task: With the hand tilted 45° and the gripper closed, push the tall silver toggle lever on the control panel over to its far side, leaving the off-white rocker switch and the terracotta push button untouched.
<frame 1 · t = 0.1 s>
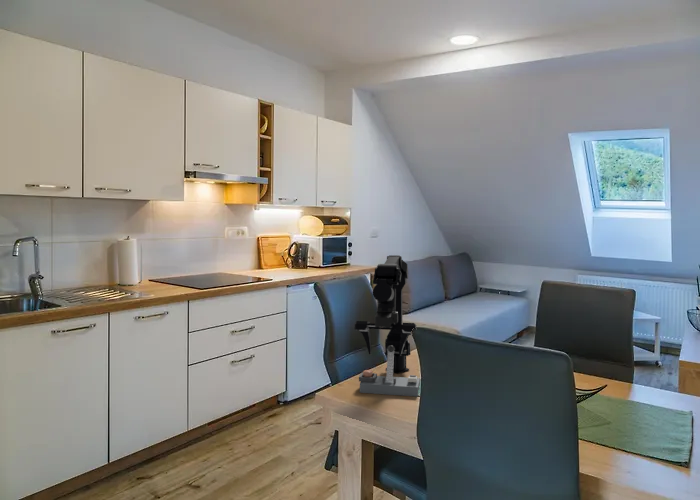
hand: (384, 355, 157), 15 cm above the table, tool pointing down, fingers open, 9 cm apart
rocker switch: (412, 378, 169), point 4 cm above the table, hinge at -8.0°
toggle lever: (390, 362, 171), point 9 cm above the table, hinge at -24.0°
panel: (390, 389, 171), on the table
push button: (367, 373, 172), point 5 cm above the table, slide at 0.0 cm
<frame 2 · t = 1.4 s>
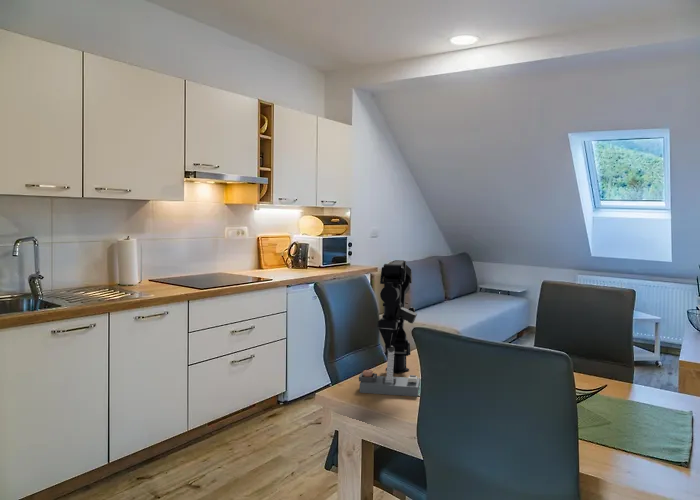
hand: (390, 344, 177), 13 cm above the table, tool pointing down, fingers open, 9 cm apart
toggle lever: (390, 362, 171), point 9 cm above the table, hinge at -27.8°, touching gripper
everything else where it was.
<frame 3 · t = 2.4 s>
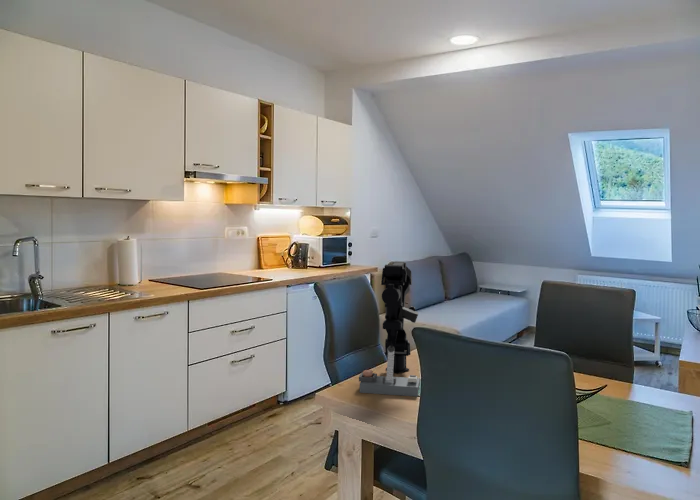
hand: (393, 344, 179), 13 cm above the table, tool pointing down, fingers closed
toggle lever: (390, 362, 171), point 9 cm above the table, hinge at -27.5°
everything else where it was.
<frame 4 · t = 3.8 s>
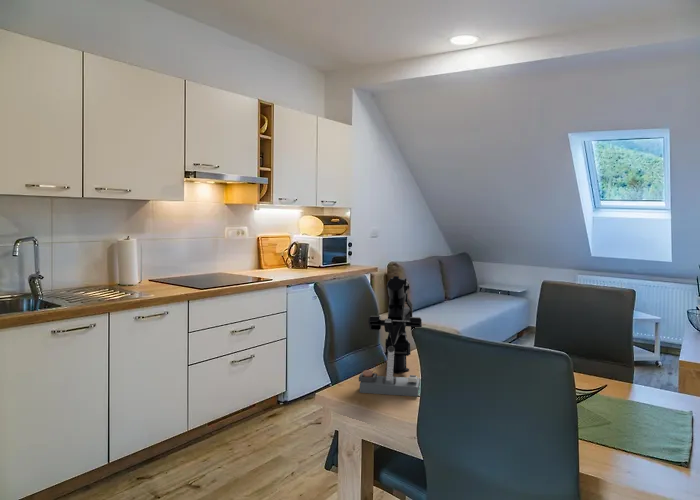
hand: (393, 344, 177), 14 cm above the table, tool tilted 45°, fingers closed
nothing on the table moved.
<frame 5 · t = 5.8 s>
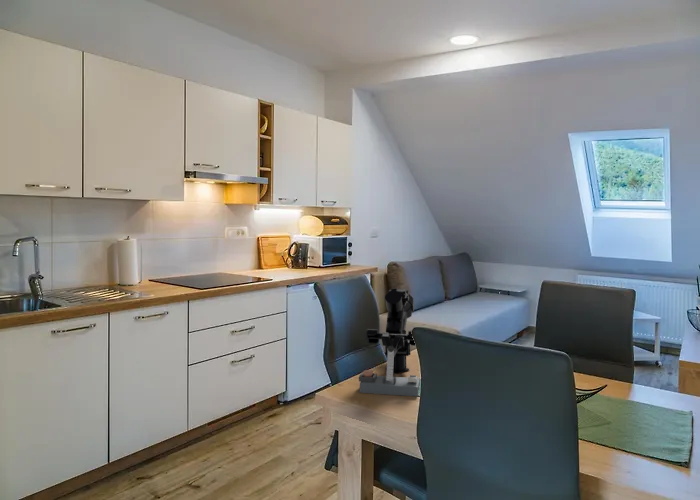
hand: (391, 359, 173), 10 cm above the table, tool tilted 45°, fingers closed, pressing on toggle lever
toggle lever: (390, 362, 171), point 9 cm above the table, hinge at -23.4°, touching gripper
everything else where it was.
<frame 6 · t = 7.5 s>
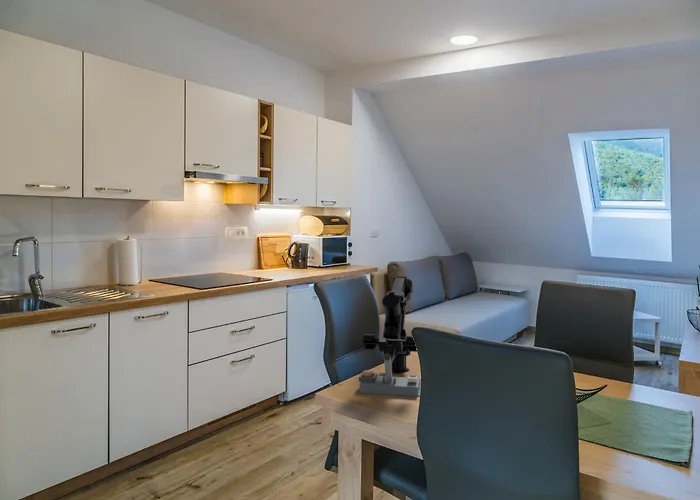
hand: (388, 365, 166), 10 cm above the table, tool tilted 45°, fingers closed, pressing on toggle lever
toggle lever: (388, 367, 166), point 9 cm above the table, hinge at 24.8°, touching gripper
everything else where it was.
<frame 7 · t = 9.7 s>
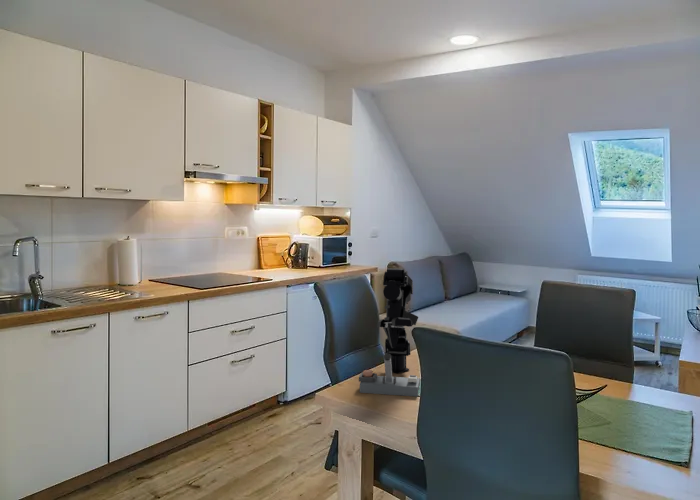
hand: (393, 347, 179), 12 cm above the table, tool tilted 15°, fingers closed
toggle lever: (388, 367, 166), point 9 cm above the table, hinge at 24.9°
everything else where it was.
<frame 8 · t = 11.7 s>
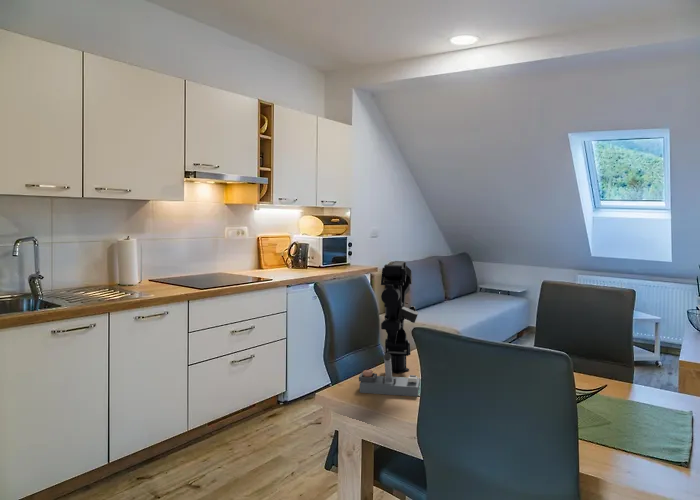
hand: (393, 344, 179), 13 cm above the table, tool pointing down, fingers closed
nothing on the table moved.
at the end: toggle lever at +25° (first picture: -24°); rocker switch at -8° (first picture: -8°); push button slide at 0.0 cm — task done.
